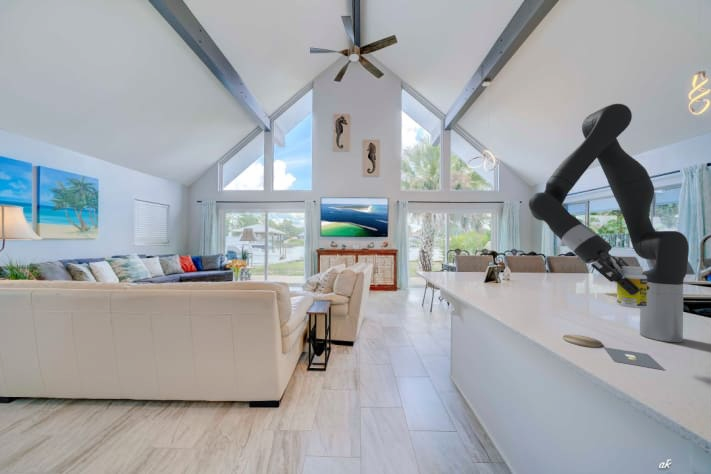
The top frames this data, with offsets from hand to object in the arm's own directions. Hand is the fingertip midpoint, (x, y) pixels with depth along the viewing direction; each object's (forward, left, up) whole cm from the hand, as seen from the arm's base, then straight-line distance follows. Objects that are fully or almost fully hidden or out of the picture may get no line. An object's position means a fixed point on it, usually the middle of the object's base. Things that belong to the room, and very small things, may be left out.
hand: (641, 291), depth 72 cm
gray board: (-1, -1, -17) cm, 17 cm away
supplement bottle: (-1, -2, -4) cm, 5 cm away
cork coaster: (-9, -10, -17) cm, 22 cm away
